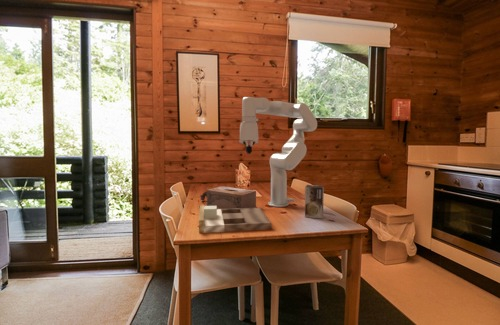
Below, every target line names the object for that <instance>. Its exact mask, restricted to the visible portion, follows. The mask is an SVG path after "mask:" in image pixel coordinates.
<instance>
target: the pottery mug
mask: <svg viewBox="0 0 500 325" xmlns="http://www.w3.org/2000/svg"><path fill="white" fill-rule="evenodd" d="M199 197H200V200H201V201H202V202H203V201H205V200H206V198H207V190H206V191H205V192H203V193H202V194H200V196H199Z"/></svg>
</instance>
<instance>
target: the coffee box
mask: <svg viewBox="0 0 500 325" xmlns="http://www.w3.org/2000/svg"><path fill="white" fill-rule="evenodd" d="M324 188H325V186H324V185H316V184H314V185H313V184H306V186H305V187H304V189H305V190H304V196H305V199H304V200H305V201H304V218H310V219H311V218H312V219H313V218H314V219H324V194H325V193H324V190H325V189H324Z"/></svg>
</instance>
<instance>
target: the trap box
mask: <svg viewBox="0 0 500 325" xmlns="http://www.w3.org/2000/svg"><path fill="white" fill-rule="evenodd" d="M204 206H205V204H200V205H199V214H198V234H201V233H202V234H203V233H204V234H205V233H223V232H224V233H225V232H243V231H244V232H245V231H247V232H248V231H261V230H265V231H266V230H272V222H271V220H270V219H269V218H268V217H267V215H266V214H265V213H264V211H263V210H262V208H261V207H255V208H235V209H221V208H217V218H204Z"/></svg>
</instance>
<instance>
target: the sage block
mask: <svg viewBox="0 0 500 325" xmlns="http://www.w3.org/2000/svg"><path fill="white" fill-rule="evenodd" d="M217 209H218V208H217V206H207V205H204V218H217Z"/></svg>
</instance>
